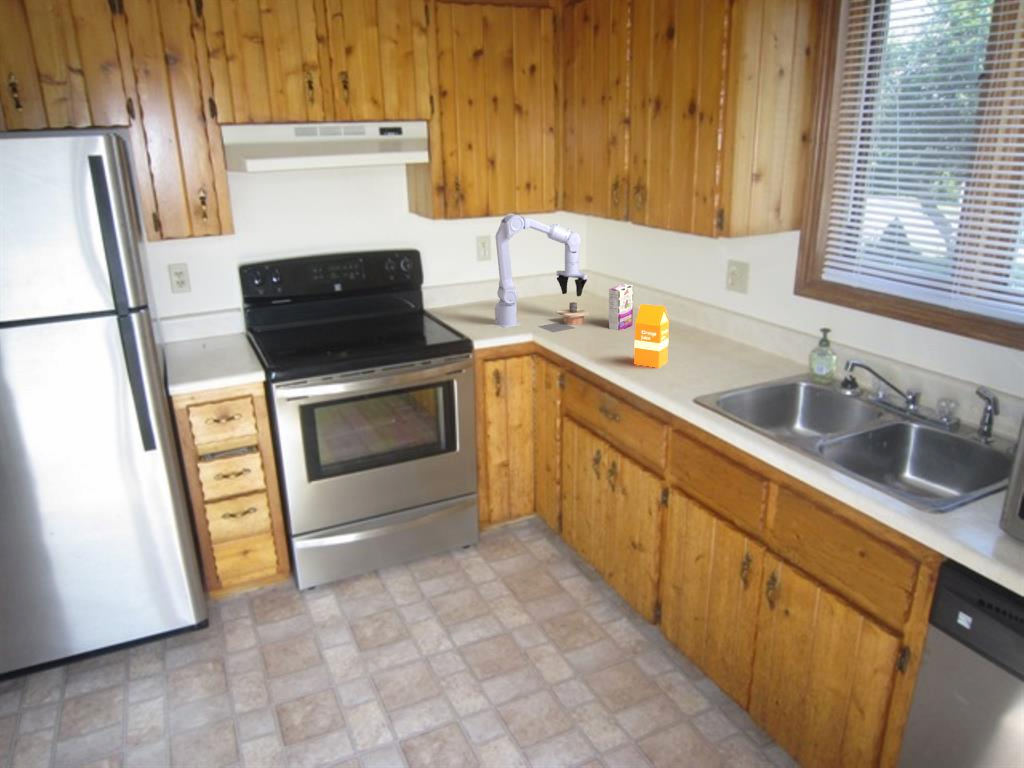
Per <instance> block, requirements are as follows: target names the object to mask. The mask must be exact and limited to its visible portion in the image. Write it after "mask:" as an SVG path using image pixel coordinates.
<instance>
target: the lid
mask: <svg viewBox="0 0 1024 768" xmlns="http://www.w3.org/2000/svg"><path fill="white" fill-rule="evenodd" d="M555 314H557V315H560V316H563V317H564V316H566V317H569V318H573V317H579V316H584V317H585V316H589V315H592V314H591V312H590V311H587V310H584V309H581V308H578V302H576V301H575V302H569V309H568V308H567V309H561V310H556V312H555Z"/></svg>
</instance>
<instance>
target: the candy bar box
mask: <svg viewBox="0 0 1024 768" xmlns="http://www.w3.org/2000/svg"><path fill="white" fill-rule="evenodd" d="M633 303H634V285H633V284H625V283H622V284H620V285H617V286H614V287H611V288H609V290H608V307H609V308H608V329H609V330H614V331H621V330H623V329H626V328H630V327H631V326H633V321H634V320H633V319H634V318H633V317H634V315H633V313H634V312H633V308H634V307H633V305H634V304H633Z"/></svg>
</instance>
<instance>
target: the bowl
mask: <svg viewBox="0 0 1024 768" xmlns="http://www.w3.org/2000/svg"><path fill="white" fill-rule="evenodd" d="M584 322H585V315H584V316H579V317H573V318H569V317H566V316H563V324H566V325H581V324H584Z"/></svg>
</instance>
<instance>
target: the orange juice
mask: <svg viewBox="0 0 1024 768" xmlns="http://www.w3.org/2000/svg"><path fill="white" fill-rule="evenodd" d="M666 308H667V307H666V306H665V305H664V306H663V305H655V304H654V305H653V304H647V303H646V304H645V303H640V305H639V308H638V312H637V317H636V320H635V324H634V325H635V328H634V329H635V330H634V354H633V355H634V358H633V361H634V362H633V365H634V364H637V365H636V366H639V365H643V366H642V367H646V366H649V367H648V368H652V367H655V368H654V369H658V368H659V367H660V368H662V365H663V366H665V365H666V364H667V363H668V354H669V353H668V352H669V334H670V333H669V331H670V330H669V329H670V320H669V317H668V312H667V309H666ZM660 368H659V369H660Z"/></svg>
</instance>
